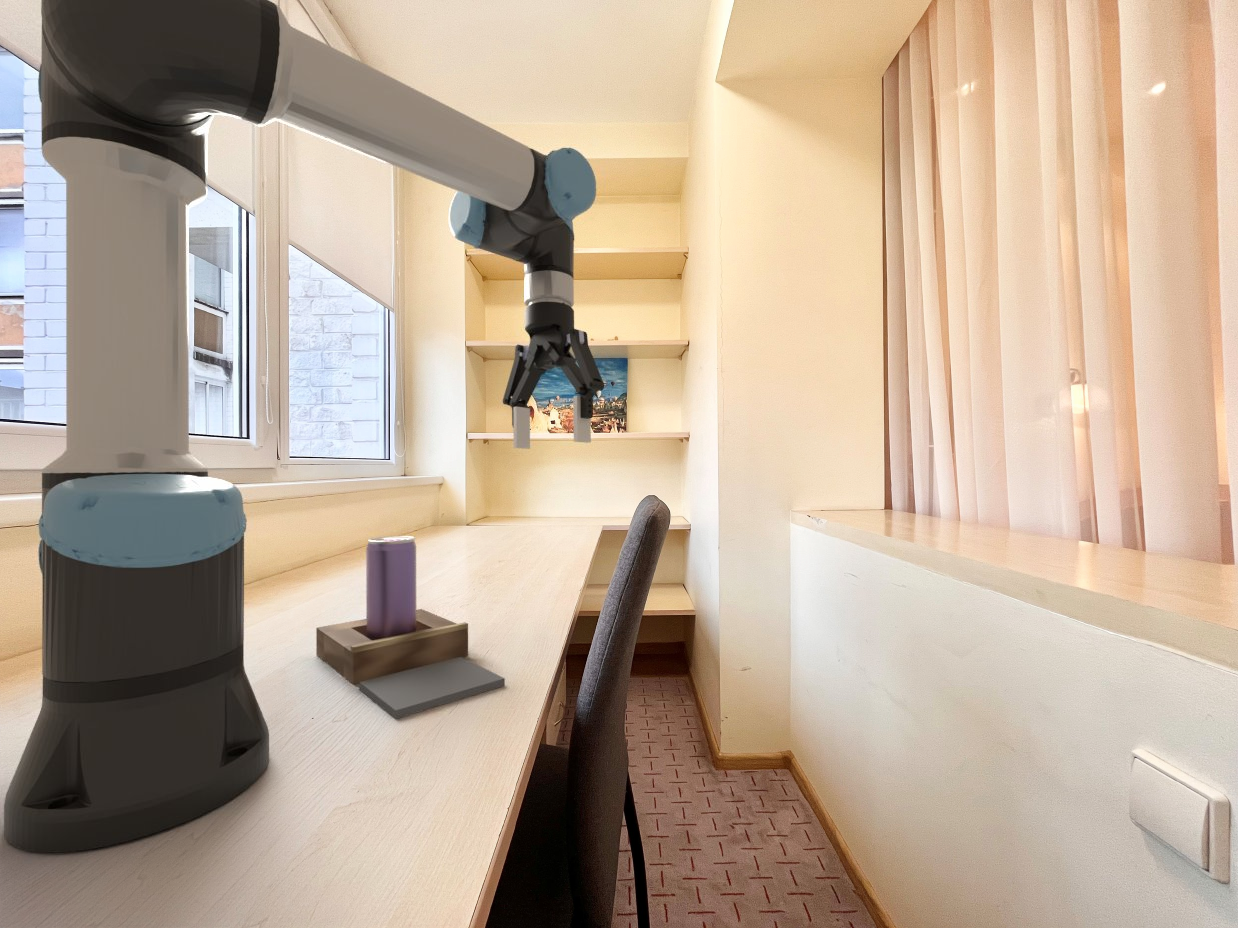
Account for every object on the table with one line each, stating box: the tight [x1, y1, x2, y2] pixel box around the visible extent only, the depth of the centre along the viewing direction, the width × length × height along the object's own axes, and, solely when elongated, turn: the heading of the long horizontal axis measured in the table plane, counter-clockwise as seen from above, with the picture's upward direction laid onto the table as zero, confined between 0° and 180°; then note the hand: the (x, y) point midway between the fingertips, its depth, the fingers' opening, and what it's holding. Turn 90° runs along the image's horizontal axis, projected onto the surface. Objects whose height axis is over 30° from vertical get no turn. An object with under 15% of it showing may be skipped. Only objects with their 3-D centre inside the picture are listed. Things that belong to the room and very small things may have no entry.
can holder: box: [315, 608, 469, 685], centre depth 73 cm, size 14×14×4 cm
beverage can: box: [365, 535, 417, 641], centre depth 73 cm, size 6×6×15 cm
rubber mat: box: [358, 657, 506, 719], centre depth 62 cm, size 12×10×1 cm
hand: (550, 445), depth 86 cm, fingers open, 13 cm apart
